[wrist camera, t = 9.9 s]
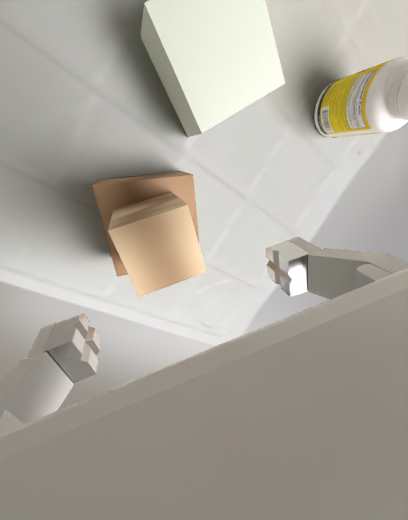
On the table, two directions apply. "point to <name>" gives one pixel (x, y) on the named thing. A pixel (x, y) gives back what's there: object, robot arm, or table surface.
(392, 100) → the supplement bottle
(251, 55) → the white block
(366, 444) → the robot arm
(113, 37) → the table surface
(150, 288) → the oak block
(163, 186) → the walnut block
